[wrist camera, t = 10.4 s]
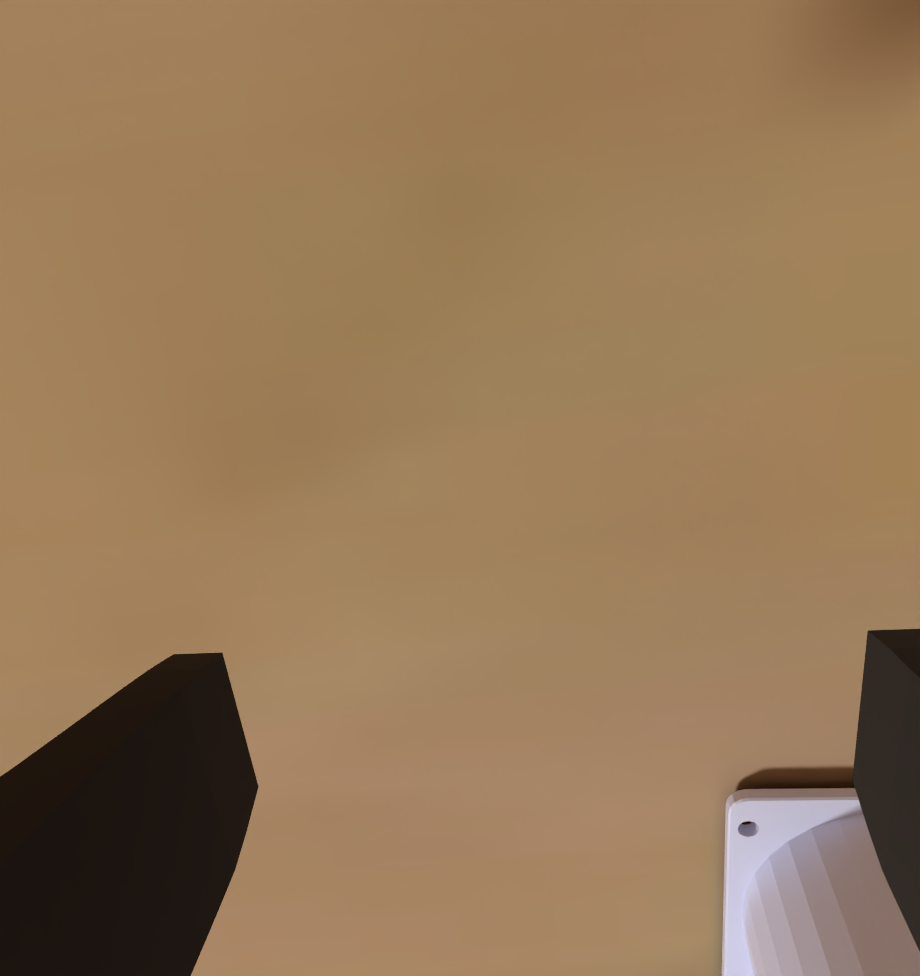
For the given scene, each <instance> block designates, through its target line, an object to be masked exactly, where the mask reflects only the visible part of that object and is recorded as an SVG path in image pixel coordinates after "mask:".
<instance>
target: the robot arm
mask: <svg viewBox="0 0 920 976" xmlns="http://www.w3.org/2000/svg"><path fill="white" fill-rule="evenodd" d="M852 780H853V784H854V787H855V788H809V789H744V790H738V791H736V792H734V793H732V794H731V795H730V796H729V798H728V799H727V802H726V822H725V863H724V904H723V944H722V976H920V629H902V630H873V631H868V634H867V644H866V654H865V663H864V673H863V683H862V692H861V702H860V712H859V721H858V731H857V741H856V750H855V760H854V770H853V779H852ZM257 790H258V784H257V780H256V776H255V773H254V769H253V765H252V761H251V758H250V754H249V750H248V747H247V743H246V739H245V735H244V732H243V728H242V724H241V721H240V717H239V713H238V710H237V706H236V702H235V698H234V695H233V691H232V687H231V684H230V680H229V676H228V672H227V669H226V665H225V661H224V658H223V654H222V653H200V654H174V655H172V656H170V657H169V658H167V659H165V660H164V661H162V662H161V663H159V664H157V665H156V666H154V667H153V668H151V669H150V670H148V671H147V672H145V673H144V674H142V675H141V676H140V677H138V678H137V679H135V680H134V681H132V682H131V683H130V684H128V685H127V686H125V687H124V688H123V689H121V690H120V691H118V692H117V693H116V694H114V695H113V696H112V697H110V698H109V699H107V700H106V701H105V702H103V703H102V704H101V705H99V706H98V707H96V708H95V709H94V710H92V711H91V712H90V713H88V714H87V715H86V716H84V717H83V718H81V719H80V720H79V721H77V722H76V723H75V724H73V725H72V726H70V727H69V728H68V729H66V730H65V731H63V732H62V733H61V734H59V735H58V736H57V737H55V738H54V739H52V740H51V741H50V742H48V743H47V744H46V745H44V746H43V747H41V748H40V749H39V750H37V751H36V752H35V753H33V754H32V755H30V756H29V757H28V758H26V759H25V760H24V761H22V762H21V763H19V764H18V765H17V766H15V767H14V768H12V769H11V770H10V771H8V772H7V773H5V774H4V775H2V776H1V777H0V976H191V973H192V971H193V969H194V966H195V964H196V962H197V959H198V957H199V955H200V952H201V950H202V948H203V945H204V943H205V941H206V938H207V936H208V934H209V931H210V929H211V926H212V924H213V922H214V919H215V917H216V914H217V912H218V910H219V907H220V905H221V903H222V900H223V898H224V895H225V893H226V891H227V888H228V886H229V883H230V881H231V878H232V876H233V873H234V871H235V868H236V865H237V861H238V858H239V855H240V851H241V848H242V845H243V841H244V838H245V835H246V831H247V827H248V824H249V820H250V816H251V812H252V809H253V805H254V801H255V797H256V794H257ZM747 821H750V822H752V823H751V824H747V825H743V824H741V823H743V822H747Z"/></svg>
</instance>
